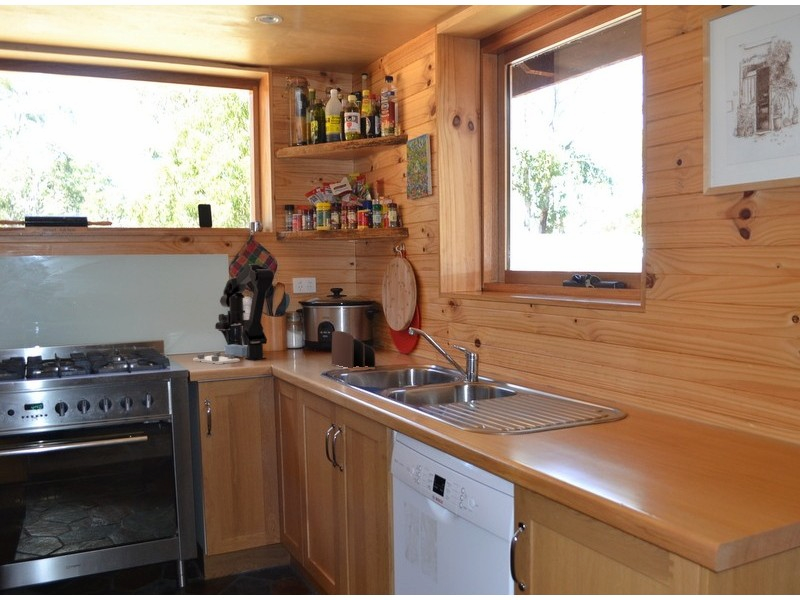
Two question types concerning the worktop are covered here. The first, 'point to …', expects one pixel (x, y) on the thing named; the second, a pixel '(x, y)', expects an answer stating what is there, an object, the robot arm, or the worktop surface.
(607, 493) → the worktop surface
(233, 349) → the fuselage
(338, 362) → the letter holder
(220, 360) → the cradle
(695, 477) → the worktop surface
